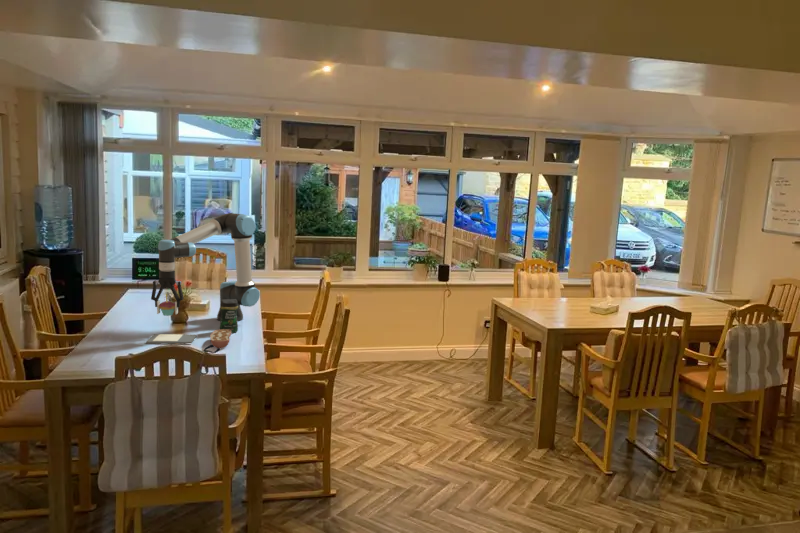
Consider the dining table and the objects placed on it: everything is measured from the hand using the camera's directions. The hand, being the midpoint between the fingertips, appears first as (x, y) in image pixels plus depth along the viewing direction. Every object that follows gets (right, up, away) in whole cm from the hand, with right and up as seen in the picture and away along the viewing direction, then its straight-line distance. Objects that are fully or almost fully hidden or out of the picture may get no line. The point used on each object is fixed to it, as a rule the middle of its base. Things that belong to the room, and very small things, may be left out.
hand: (167, 313), depth 304 cm
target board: (+1, -14, +2) cm, 15 cm away
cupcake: (0, -1, 0) cm, 1 cm away
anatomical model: (+27, -16, 0) cm, 32 cm away
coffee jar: (+25, -12, +23) cm, 36 cm away
